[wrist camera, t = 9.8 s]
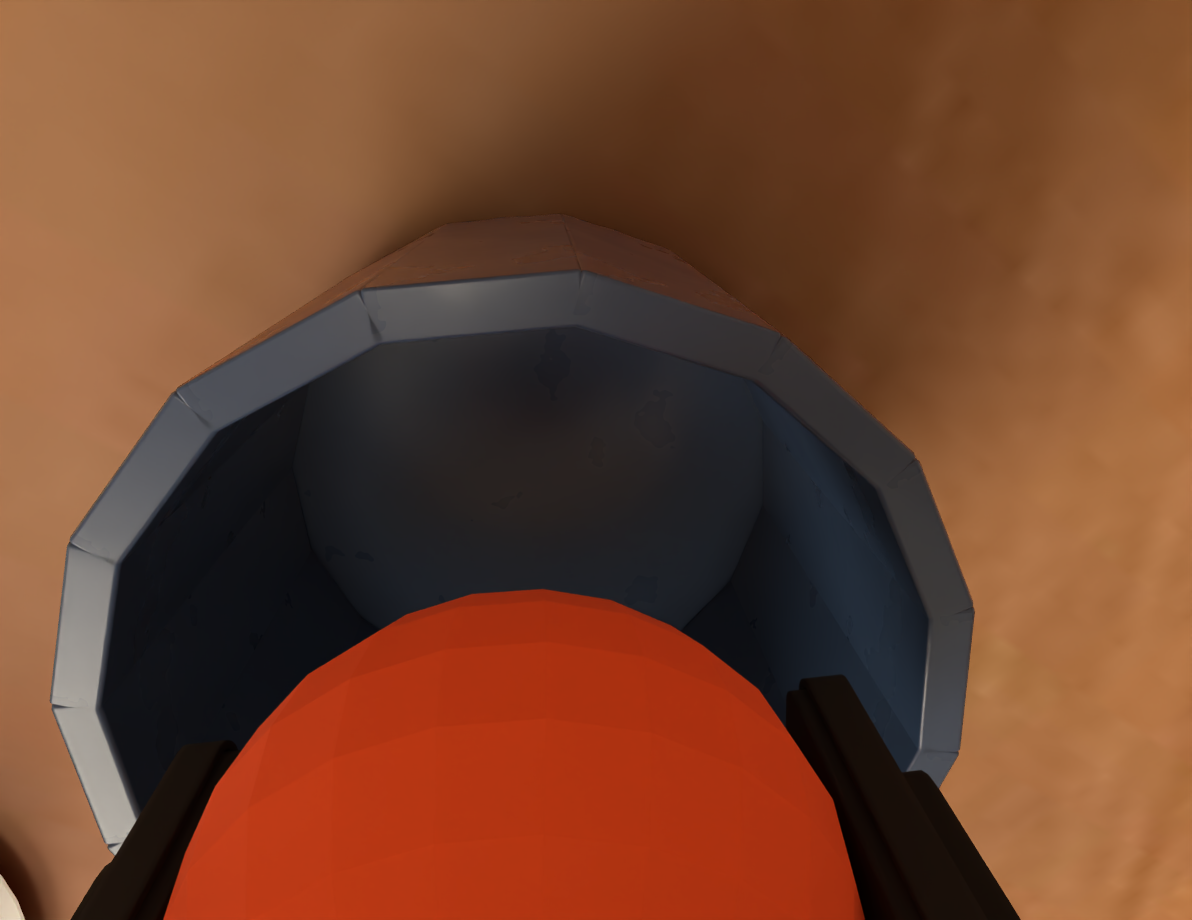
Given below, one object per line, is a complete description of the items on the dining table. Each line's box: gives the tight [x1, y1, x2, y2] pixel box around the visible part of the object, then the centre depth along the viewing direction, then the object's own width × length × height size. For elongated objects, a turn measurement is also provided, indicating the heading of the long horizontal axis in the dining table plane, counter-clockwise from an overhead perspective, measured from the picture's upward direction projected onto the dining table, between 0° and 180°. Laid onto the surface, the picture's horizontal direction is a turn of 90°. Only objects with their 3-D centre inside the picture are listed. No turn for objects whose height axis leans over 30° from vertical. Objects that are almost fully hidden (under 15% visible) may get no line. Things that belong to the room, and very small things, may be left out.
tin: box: [50, 214, 975, 856], centre depth 17 cm, size 13×13×10 cm
